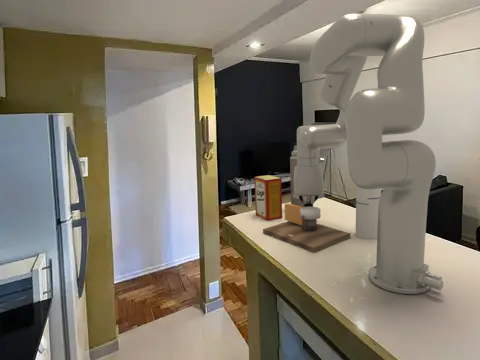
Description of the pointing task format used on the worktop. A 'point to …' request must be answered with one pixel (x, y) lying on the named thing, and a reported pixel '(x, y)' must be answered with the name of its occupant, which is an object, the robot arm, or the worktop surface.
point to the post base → (307, 234)
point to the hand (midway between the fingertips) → (308, 213)
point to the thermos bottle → (292, 166)
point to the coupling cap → (300, 213)
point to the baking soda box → (268, 197)
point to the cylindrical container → (367, 212)
